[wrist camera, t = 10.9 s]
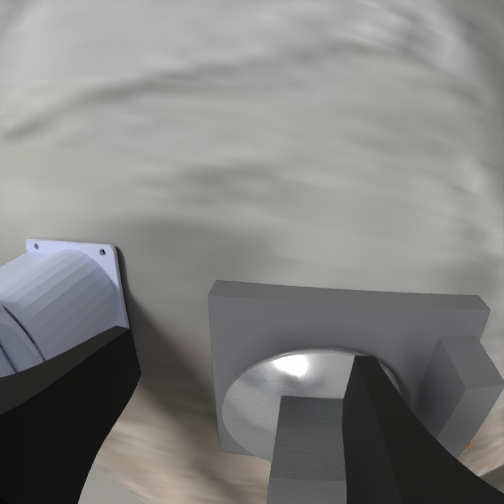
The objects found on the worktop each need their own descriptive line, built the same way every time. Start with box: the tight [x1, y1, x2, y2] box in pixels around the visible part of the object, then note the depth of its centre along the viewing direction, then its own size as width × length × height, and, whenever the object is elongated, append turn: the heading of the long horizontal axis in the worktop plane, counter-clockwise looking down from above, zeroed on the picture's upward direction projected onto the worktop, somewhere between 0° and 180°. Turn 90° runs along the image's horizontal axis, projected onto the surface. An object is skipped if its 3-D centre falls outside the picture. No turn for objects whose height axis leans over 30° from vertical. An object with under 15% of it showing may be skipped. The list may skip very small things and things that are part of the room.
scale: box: [208, 280, 504, 459], centre depth 19 cm, size 18×16×7 cm
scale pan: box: [222, 346, 402, 462], centre depth 19 cm, size 12×12×1 cm
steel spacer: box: [267, 395, 347, 504], centre depth 16 cm, size 4×4×6 cm
